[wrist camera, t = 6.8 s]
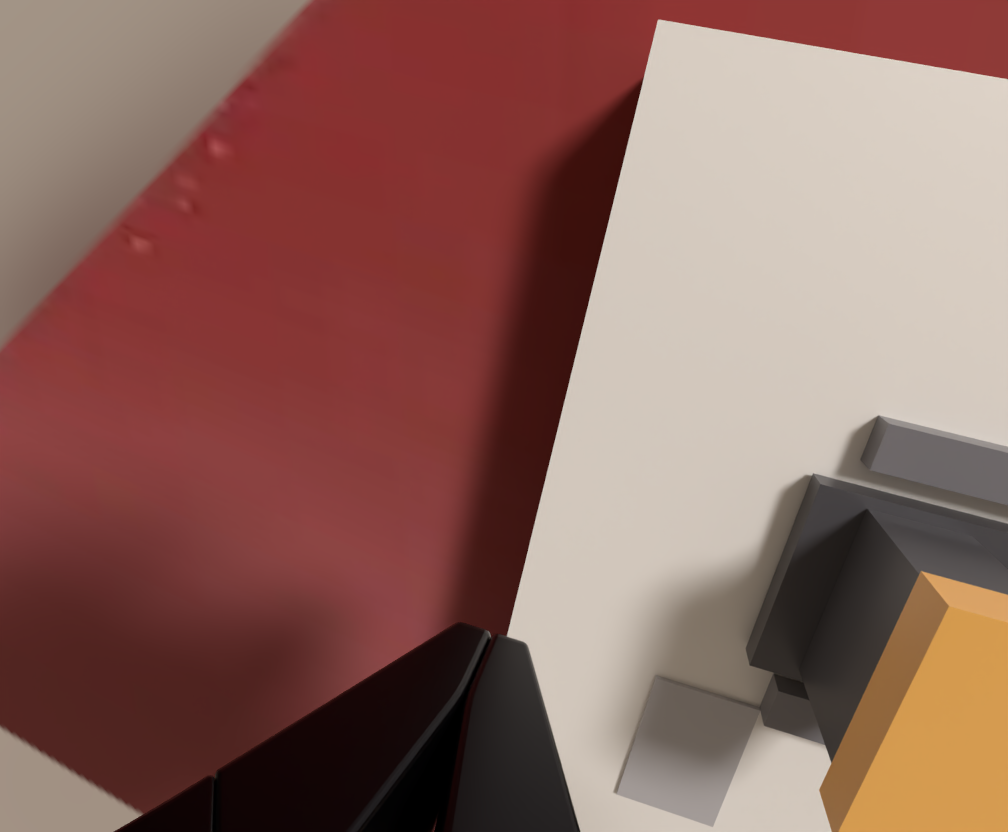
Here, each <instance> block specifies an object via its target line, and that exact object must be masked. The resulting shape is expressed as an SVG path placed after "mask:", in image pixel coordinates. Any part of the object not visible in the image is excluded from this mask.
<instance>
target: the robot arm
mask: <svg viewBox="0 0 1008 832" xmlns="http://www.w3.org/2000/svg"><path fill="white" fill-rule="evenodd" d="M435 825H436V826H435ZM434 828H435V830H434ZM433 831H434V832H580V828H579V825H578V821H577V818H576V814H575V811H574V807H573V803H572V800H571V796H570V793H569V789H568V786H567V782H566V779H565V775H564V771H563V768H562V764H561V761H560V757H559V754H558V750H557V747H556V743H555V739H554V736H553V732H552V729H551V725H550V722H549V718H548V715H547V711H546V708H545V704H544V700H543V697H542V693H541V690H540V686H539V683H538V679H537V676H536V672H535V668H534V665H533V661H532V658H531V654H530V651H529V648H528V645H527V644H526V643H525V642H523V641H520V640H517V639H514V638H510V637H507V636H504V635H501V634H495V635H493V636H492V637H491V635H490V633H489V631H487V630H485V629H482V628H478V627H475V626H472V625H469V624H466V623H462V622H458V623H455V624H453V625H452V626H450V627H449V628H447V629H445V630H444V631H442V632H440V633H439V634H437V635H436V636H434V637H432V638H431V639H429V640H428V641H426V642H424V643H423V644H421V645H419V646H418V647H416V648H415V649H413V650H411V651H410V652H408V653H406V654H405V655H403V656H402V657H400V658H398V659H397V660H395V661H393V662H392V663H390V664H389V665H387V666H385V667H384V668H382V669H381V670H379V671H377V672H376V673H374V674H372V675H371V676H369V677H368V678H366V679H364V680H363V681H361V682H359V683H358V684H356V685H355V686H353V687H351V688H350V689H348V690H346V691H345V692H343V693H342V694H340V695H338V696H337V697H335V698H334V699H332V700H330V701H329V702H327V703H325V704H324V705H322V706H321V707H319V708H317V709H316V710H314V711H312V712H311V713H309V714H308V715H306V716H304V717H303V718H301V719H300V720H298V721H296V722H295V723H293V724H291V725H290V726H288V727H287V728H285V729H283V730H282V731H280V732H278V733H277V734H275V735H274V736H272V737H270V738H269V739H267V740H265V741H264V742H262V743H261V744H259V745H257V746H256V747H254V748H253V749H251V750H249V751H248V752H246V753H244V754H243V755H241V756H240V757H238V758H236V759H235V760H233V761H231V762H230V763H228V764H227V765H225V766H223V767H222V768H220V769H219V770H217V772H216V774H215V778H214V777H213V776H211V775H209V776H207V777H205V778H203V779H202V780H200V781H198V782H197V783H195V784H194V785H192V786H190V787H189V788H187V789H185V790H184V791H182V792H181V793H179V794H177V795H176V796H174V797H172V798H171V799H169V800H167V801H166V802H164V803H162V804H161V805H159V806H157V807H155V808H154V809H152V810H150V811H149V812H147V813H145V814H143V815H142V816H140V817H138V818H137V819H135V820H133V821H131V822H130V823H128V824H126V825H125V826H123V827H121V828H120V829H118V830H116V831H114V832H433Z"/></svg>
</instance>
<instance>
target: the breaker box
mask: <svg viewBox="0 0 1008 832" xmlns="http://www.w3.org/2000/svg"><path fill="white" fill-rule="evenodd" d="M813 473H814V474H818V475H822V476H826V477H830V478H833V479H837V480H841V481H845V482H849V483H853V484H857V485H861V486H864V487H868V488H872V489H876V490H880V491H884V492H888V493H891V494H895V495H899V496H903V497H907V498H911V499H915V500H918V501H922V502H926V503H930V504H934V505H938V506H942V507H946V508H949V509H953V510H957V511H961V512H965V513H969V514H973V515H976V516H980V517H984V518H988V519H992V520H996V521H1000V522H1003V523H1007V524H1008V79H1002V78H997V77H991V76H985V75H979V74H973V73H967V72H962V71H956V70H950V69H944V68H938V67H932V66H926V65H921V64H915V63H909V62H903V61H897V60H891V59H886V58H880V57H874V56H868V55H862V54H856V53H851V52H845V51H839V50H833V49H827V48H821V47H815V46H810V45H804V44H798V43H792V42H786V41H780V40H775V39H769V38H763V37H757V36H751V35H745V34H740V33H734V32H728V31H722V30H716V29H710V28H704V27H699V26H693V25H687V24H681V23H675V22H669V21H664V20H658V22H657V26H656V31H655V35H654V39H653V43H652V47H651V51H650V55H649V59H648V63H647V67H646V71H645V75H644V79H643V84H642V88H641V92H640V96H639V100H638V104H637V108H636V112H635V116H634V120H633V124H632V128H631V132H630V137H629V141H628V145H627V149H626V153H625V157H624V161H623V165H622V169H621V173H620V177H619V181H618V185H617V190H616V194H615V198H614V202H613V206H612V210H611V214H610V218H609V222H608V226H607V230H606V234H605V238H604V243H603V247H602V251H601V255H600V259H599V263H598V267H597V271H596V275H595V279H594V283H593V287H592V291H591V295H590V300H589V304H588V308H587V312H586V316H585V320H584V324H583V328H582V332H581V336H580V340H579V344H578V348H577V353H576V357H575V361H574V365H573V369H572V373H571V377H570V381H569V385H568V389H567V393H566V397H565V401H564V406H563V410H562V414H561V418H560V422H559V426H558V430H557V434H556V438H555V442H554V446H553V450H552V454H551V459H550V463H549V467H548V471H547V475H546V479H545V483H544V487H543V491H542V495H541V499H540V503H539V507H538V512H537V516H536V520H535V524H534V528H533V532H532V536H531V540H530V544H529V548H528V552H527V556H526V560H525V564H524V569H523V573H522V577H521V581H520V585H519V589H518V593H517V597H516V601H515V605H514V609H513V613H512V617H511V622H510V626H509V630H508V634H507V637H510V638H514V639H517V640H520V641H523V642H525V643H526V644H527V645H528V648H529V651H530V654H531V658H532V661H533V665H534V668H535V672H536V676H537V679H538V683H539V686H540V690H541V693H542V697H543V700H544V704H545V708H546V711H547V715H548V718H549V722H550V725H551V729H552V732H553V736H554V739H555V743H556V747H557V750H558V754H559V757H560V761H561V764H562V768H563V771H564V775H565V779H566V782H567V786H568V789H569V793H570V796H571V800H572V803H573V807H574V811H575V814H576V818H577V821H578V825H579V828H580V832H832V831H831V827H830V824H829V821H828V818H827V814H826V811H825V808H824V805H823V801H822V798H821V795H820V792H819V789H820V787H821V785H822V782H823V780H824V778H825V776H826V774H827V772H828V770H829V767H830V765H831V760H830V758H829V755H828V752H827V749H826V746H825V743H824V740H823V737H822V734H821V732H820V729H819V726H818V723H817V720H816V717H815V714H814V711H813V709H812V706H811V703H810V700H809V697H808V694H807V691H806V688H805V685H804V683H803V681H799V680H796V679H793V678H789V677H786V676H783V675H779V674H776V673H773V672H770V671H766V670H763V669H760V668H756V667H753V666H750V665H749V661H748V657H747V653H746V646H747V643H748V641H749V638H750V636H751V633H752V630H753V628H754V625H755V623H756V620H757V617H758V615H759V612H760V610H761V607H762V604H763V602H764V599H765V597H766V594H767V591H768V589H769V586H770V584H771V581H772V578H773V576H774V573H775V571H776V568H777V565H778V563H779V560H780V558H781V555H782V552H783V550H784V547H785V545H786V542H787V539H788V537H789V534H790V532H791V529H792V527H793V524H794V521H795V519H796V516H797V514H798V511H799V508H800V506H801V503H802V501H803V498H804V495H805V493H806V490H807V488H808V485H809V482H810V480H811V477H812V475H813Z"/></svg>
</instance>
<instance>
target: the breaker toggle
mask: <svg viewBox="0 0 1008 832" xmlns="http://www.w3.org/2000/svg"><path fill="white" fill-rule="evenodd" d="M746 653H747V657H748V661H749V665H750V666H753V667H756V668H760V669H763V670H766V671H770V672H773V673H776V674H779V675H783V676H786V677H789V678H793V679H796V680H799V681H803V683H804V685H805V688H806V691H807V694H808V697H809V700H810V703H811V706H812V709H813V711H814V714H815V717H816V720H817V723H818V726H819V729H820V732H821V734H822V737H823V740H824V743H825V746H826V749H827V752H828V755H829V758H830V760H831V765H830V767H829V770H828V772H827V774H826V776H825V778H824V780H823V782H822V785H821V787H820V789H819V792H820V795H821V798H822V801H823V805H824V808H825V811H826V814H827V818H828V821H829V824H830V827H831V831H832V832H1008V524H1007V523H1003V522H1000V521H996V520H992V519H988V518H984V517H980V516H976V515H973V514H969V513H965V512H961V511H957V510H953V509H949V508H946V507H942V506H938V505H934V504H930V503H926V502H922V501H918V500H915V499H911V498H907V497H903V496H899V495H895V494H891V493H888V492H884V491H880V490H876V489H872V488H868V487H864V486H861V485H857V484H853V483H849V482H845V481H841V480H837V479H833V478H830V477H826V476H822V475H818V474H814V473H813V475H812V477H811V480H810V482H809V485H808V488H807V490H806V493H805V495H804V498H803V501H802V503H801V506H800V508H799V511H798V514H797V516H796V519H795V521H794V524H793V527H792V529H791V532H790V534H789V537H788V539H787V542H786V545H785V547H784V550H783V552H782V555H781V558H780V560H779V563H778V565H777V568H776V571H775V573H774V576H773V578H772V581H771V584H770V586H769V589H768V591H767V594H766V597H765V599H764V602H763V604H762V607H761V610H760V612H759V615H758V617H757V620H756V623H755V625H754V628H753V630H752V633H751V636H750V638H749V641H748V643H747V646H746Z"/></svg>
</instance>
